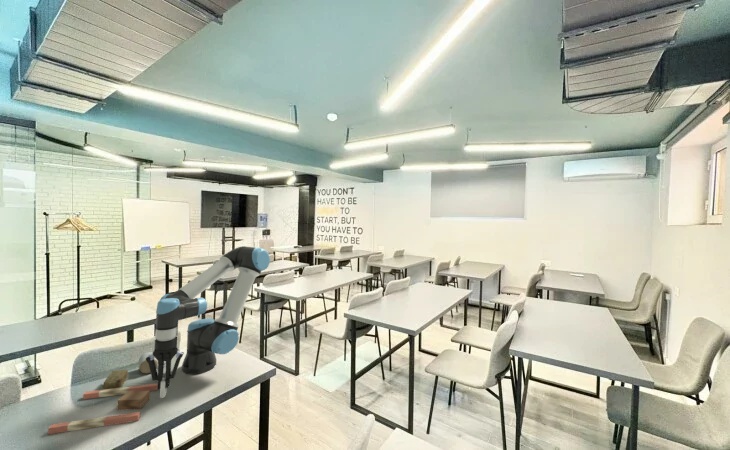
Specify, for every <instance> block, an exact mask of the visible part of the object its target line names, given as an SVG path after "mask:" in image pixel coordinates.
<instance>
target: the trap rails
mask: <svg viewBox="0 0 730 450" xmlns="http://www.w3.org/2000/svg"><path fill="white" fill-rule="evenodd" d="M130 386H131V387H130V388H129V391H150V392H152V391H158V390H159V389H158V382H156V383H149V384H147V383H146V384H139V385H130ZM101 390H102V389H98V390H89V391H85V392H84V393H83V394H82V400H89V399H96V398H100V397H99V392H100V391H101ZM105 417H106V418H105V420H104V426H105V427H106V426H110V425H111V426H113V425H118V424H124V423H131V422H132V423H133V422H138V421H139V419H140V418H141V412H140V411H136V412H129V413H122V414H121V413H120V414H116V415H114V414H113V415H109V416H108V415H107V416H105ZM70 422H71V421H67V422H61V423H60V422H59V423H53V424H51V425H50V426H49V427H48V428H47V429H48V430H47V431H48V432H47V434H48V435H52V434H59V433H66V432H68V431H67V427H68V425H69V424H70ZM104 426H103V427H104Z"/></svg>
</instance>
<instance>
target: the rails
mask: <svg viewBox="0 0 730 450" xmlns="http://www.w3.org/2000/svg"><path fill="white" fill-rule="evenodd" d="M131 386H132V385H130V386H122V387H121V388H112V389H100V390H101V391H100V392H99V397H98V398H105V397H112V396H120V395H122V396H123V395H124V394H126V393H127V392H128V391H129V388H130V387H131ZM106 417H107V416H101V417H94V418H88V419H81V420H74V421H69V422H70V424H69V425H68V427H67V432H72V431H77V430H78V431H79V430H85V429H86V430H87V429H93V428H99V427H104V420H105V418H106Z"/></svg>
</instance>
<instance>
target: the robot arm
mask: <svg viewBox="0 0 730 450" xmlns="http://www.w3.org/2000/svg"><path fill="white" fill-rule="evenodd" d="M270 263H271V258H270V254H269V251H268V250H266V249H265V248H261V247H254V246H238V247H236V248H233V249H232V250H230V251H228V252H226V253H225V254H223V255H222V256H220V257H219V260H218V261H217V262H215V263H214V264H213V265H211V266H210V267H209V268H207V269H205V270H204V271H203V272H202V273H200V274H199V275H197V276H195V278H193V279H191V280H190V281H189V282H188V283H186V284H184V285H183V286H182V287H180V288H179V289H178V290H176V291H175V292H173V293H166V294H163V296H161V297H160V299H159V301H157V305H156V311H155V314H156V316H155V334H154V338H155V340H154V350H153V351H152V352H153V354H151V355H148V357H147V358H146V361H147V362H148V363H149V368H150V372H151V373H150V376H151V380H152V381H157V383H158V389H157V390H159V391H160V393H159V399H162V398H165V397H166V396H167V389H168V388H169V387H170V384H171V383H170V382H171V379H174V377H175V376H176V374H177V372H178V368H179V365H180V362H181V359H182V357H183V356H184V354H185V352H183V351H179V349H178V331H179V321H181V320H186V319H189V318H193V317H198V316H199V315H203V314H205V312H207V309H208V302H207V300H206V299H205V298H204V297H197V296H199V295H200V294H202V293H203V292H204V291H205V290H206V289H208V288H209V287H211V286H212V285H213V284H214V283H216V282H217V281H218V280H219V279H221V278H222V277H224V276H225V275H226V274H228V272H233V271H234V270H235V269H238V271H239V273H238V275H237V277H236V280H235V282H234V283H233V286H232V289H231V291H230V293H229V295H228V297H227V299H226V302H225V303H224V307H223V309H222V310H221V314H220V315H219V317H218V318H216V319H214V318H201V319H197V320H194V321H191V322H190V323H189V324H188V325H187V331H186V332H187V337H186V338H187V340H186V354H185V356H184V359H183V362H182V364H181V372H183V373H185V374H191V375H196V374H202V373H206V372H208V371H210V370H212V369H214V368H215V367H216V366H217V357H216V354H217V355H227V354H229V353H230V352H231V351H233V350H235V348H236V347H237V345H238V343H239V339H240V336H239V332H238V329H239V324H238V321H239V318H240V316H241V314H242V311H243V309H244V306H245V304H246V302H247V299H248V296H249V294H250V292H251V290H252V288H253V284H254V282H255V279H256V278H257V277H259V276H260V275H261V273H262V271H263V272H264V271H265V270H267V269H268V268H269V266H270ZM154 357H155V358H156V359H157V360H158V369H156V365H155V361H154ZM174 357H176V360H175V363H174V364H173V368H172V359H173V358H174ZM164 363H165V367H164ZM215 365H216V366H215ZM214 366H215V367H214ZM164 369H165V375H164ZM164 376H165V377H164Z"/></svg>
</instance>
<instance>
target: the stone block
mask: <svg viewBox="0 0 730 450" xmlns="http://www.w3.org/2000/svg"><path fill="white" fill-rule="evenodd" d="M128 371H129V370H128V369H119V370H118V369H117V370H112V372H111V373H110V374H109V375H108V376H107V378H106V379H105V380H104V382H103V384H102V385H103V386H102V387H103V389H102V390H104V389H112V388H121V387H123V386H124V384H125V382H127V380H128Z"/></svg>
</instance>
